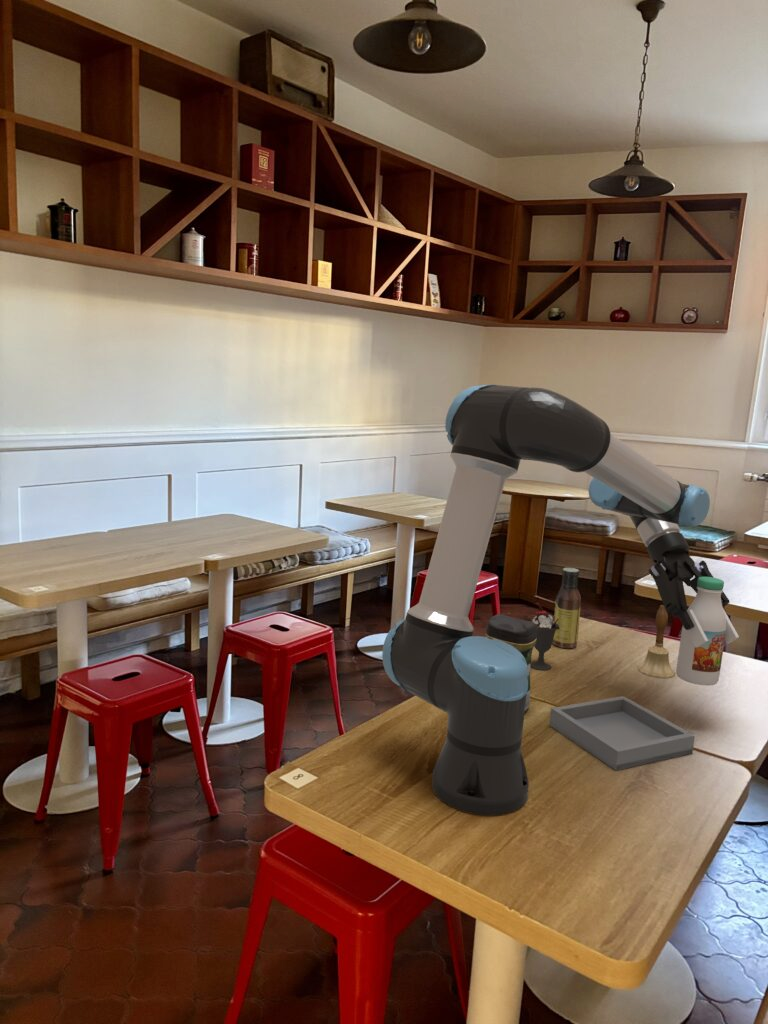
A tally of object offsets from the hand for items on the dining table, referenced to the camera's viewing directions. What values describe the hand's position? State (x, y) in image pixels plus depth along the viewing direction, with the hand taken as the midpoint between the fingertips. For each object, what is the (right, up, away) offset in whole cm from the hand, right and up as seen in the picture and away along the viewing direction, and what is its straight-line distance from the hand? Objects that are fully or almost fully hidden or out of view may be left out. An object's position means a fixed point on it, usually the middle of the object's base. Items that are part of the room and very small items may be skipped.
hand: (717, 642), depth 142 cm
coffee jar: (-39, -15, +9) cm, 42 cm away
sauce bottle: (-17, -9, +48) cm, 52 cm away
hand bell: (+1, -13, +34) cm, 36 cm away
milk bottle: (-2, -8, +4) cm, 10 cm away
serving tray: (-19, -18, -2) cm, 26 cm away
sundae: (-27, -11, +33) cm, 44 cm away
